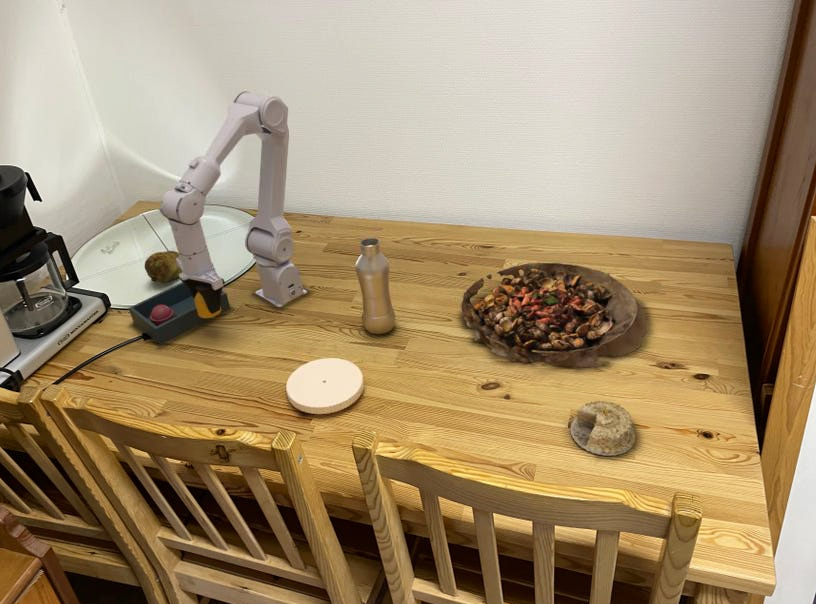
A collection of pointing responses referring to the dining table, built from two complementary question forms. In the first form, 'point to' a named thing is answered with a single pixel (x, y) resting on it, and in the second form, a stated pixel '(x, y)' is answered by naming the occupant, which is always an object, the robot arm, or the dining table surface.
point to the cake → (603, 428)
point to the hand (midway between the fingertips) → (208, 306)
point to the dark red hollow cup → (161, 314)
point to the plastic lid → (325, 385)
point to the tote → (181, 306)
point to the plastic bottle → (375, 287)
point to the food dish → (556, 315)
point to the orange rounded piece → (203, 307)
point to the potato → (163, 266)
